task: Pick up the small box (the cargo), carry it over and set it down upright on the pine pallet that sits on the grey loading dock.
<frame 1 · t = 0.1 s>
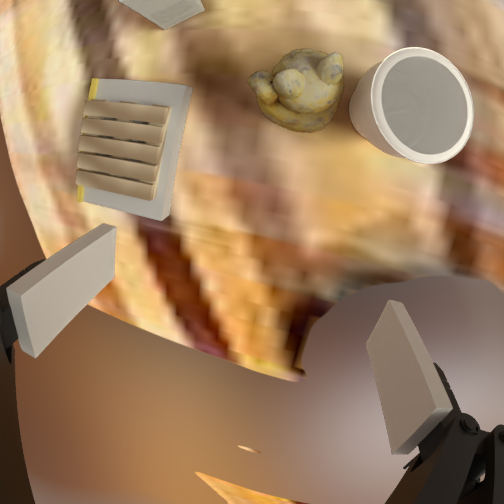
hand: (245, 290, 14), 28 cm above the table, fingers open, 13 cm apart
pallet: (124, 146, 36), resting on dock
jar: (379, 111, 34), on the table
small box: (175, 2, 31), on the table
dock: (134, 144, 39), on the table
decorative figurine: (301, 102, 35), on the table
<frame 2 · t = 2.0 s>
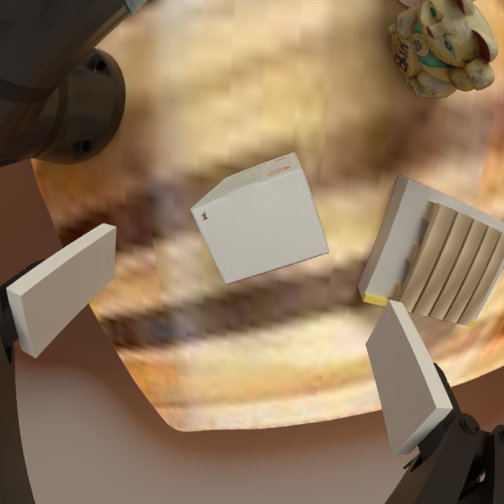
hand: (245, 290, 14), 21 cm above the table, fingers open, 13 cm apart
pallet: (450, 263, 30), resting on dock
small box: (270, 191, 33), on the table
dock: (439, 253, 33), on the table
decorative figurine: (419, 57, 25), on the table
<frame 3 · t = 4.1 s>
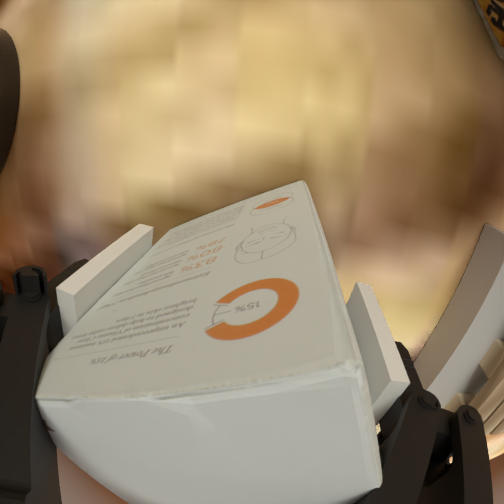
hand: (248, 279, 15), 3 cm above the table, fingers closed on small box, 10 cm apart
small box: (255, 254, 17), on the table, touching gripper
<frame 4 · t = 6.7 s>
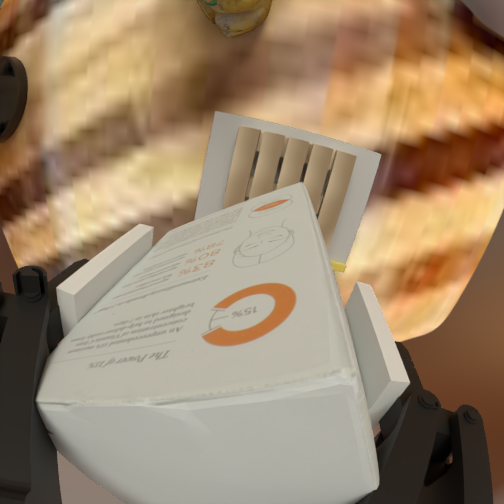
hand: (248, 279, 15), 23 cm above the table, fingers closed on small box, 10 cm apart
pallet: (284, 192, 32), resting on dock
small box: (254, 256, 17), point 20 cm above the table, touching gripper
dock: (284, 187, 35), on the table
decorative figurine: (239, 4, 27), on the table
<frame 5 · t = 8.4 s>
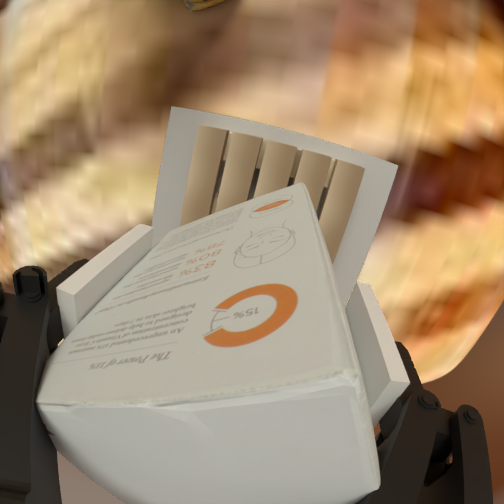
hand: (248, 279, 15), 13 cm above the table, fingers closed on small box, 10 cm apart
pallet: (263, 217, 24), resting on dock
small box: (254, 256, 17), point 10 cm above the table, touching gripper
dock: (266, 207, 27), on the table
when the fingers open (10 cm above the table, at t = 9.7 s): small box drops 1 cm, resting on pallet.
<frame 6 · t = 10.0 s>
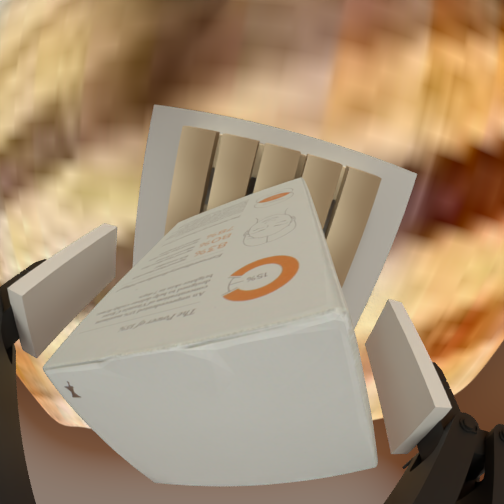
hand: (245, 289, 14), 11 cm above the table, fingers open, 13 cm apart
pallet: (260, 233, 21), resting on dock
small box: (257, 246, 19), point 5 cm above the table, touching pallet
dock: (264, 220, 23), on the table
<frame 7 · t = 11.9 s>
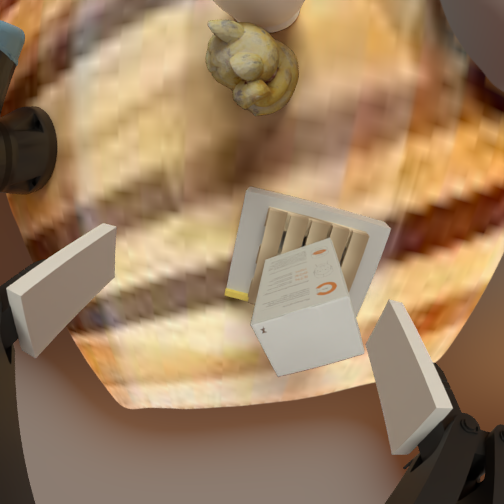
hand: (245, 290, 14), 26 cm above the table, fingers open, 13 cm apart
pallet: (305, 262, 38), resting on dock
jar: (265, 7, 29), on the table
small box: (306, 271, 36), point 5 cm above the table, touching pallet
dock: (305, 253, 41), on the table
decorative figurine: (265, 77, 33), on the table
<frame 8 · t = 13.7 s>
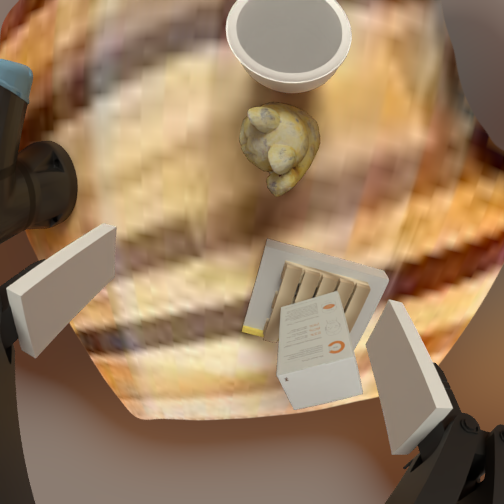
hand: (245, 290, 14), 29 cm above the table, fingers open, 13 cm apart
pallet: (314, 306, 43), resting on dock
jar: (289, 63, 34), on the table
small box: (315, 316, 41), point 5 cm above the table, touching pallet
dock: (313, 296, 46), on the table
decorative figurine: (286, 138, 38), on the table
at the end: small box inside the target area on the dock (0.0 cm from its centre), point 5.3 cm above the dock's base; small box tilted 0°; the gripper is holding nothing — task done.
